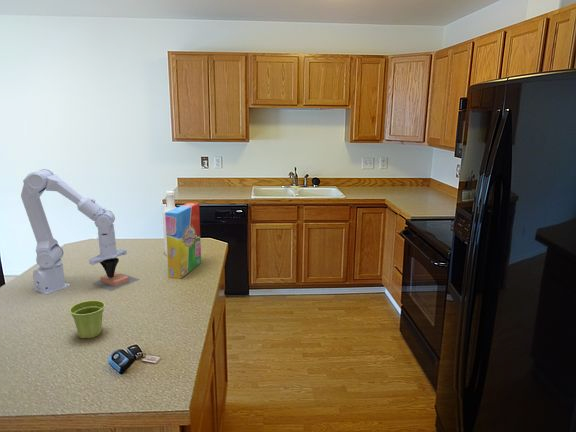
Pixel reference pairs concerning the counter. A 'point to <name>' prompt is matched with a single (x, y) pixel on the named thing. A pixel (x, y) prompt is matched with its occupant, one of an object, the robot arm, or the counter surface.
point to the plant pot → (88, 317)
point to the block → (115, 279)
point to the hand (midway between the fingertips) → (110, 277)
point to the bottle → (169, 207)
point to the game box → (183, 239)
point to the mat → (110, 287)
